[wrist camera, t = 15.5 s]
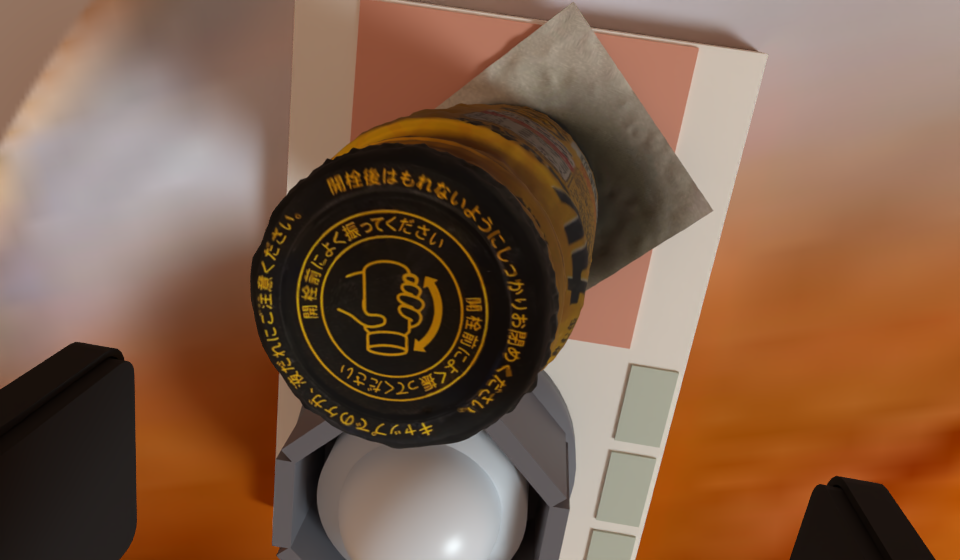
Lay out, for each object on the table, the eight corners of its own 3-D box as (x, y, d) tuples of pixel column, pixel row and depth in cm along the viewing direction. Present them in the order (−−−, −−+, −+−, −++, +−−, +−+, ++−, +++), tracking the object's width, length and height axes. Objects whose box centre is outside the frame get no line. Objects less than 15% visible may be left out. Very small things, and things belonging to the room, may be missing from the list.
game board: (622, 580, 30) (636, 702, 25) (280, 520, 31) (225, 628, 26) (759, 51, 23) (819, 69, 18) (305, -15, 23) (234, -16, 18)
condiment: (353, 171, 24) (119, 252, 13) (574, 2, 22) (527, -84, 10) (486, 353, 25) (376, 582, 14) (712, 209, 23) (810, 340, 11)
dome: (514, 555, 28) (505, 674, 23) (332, 523, 28) (285, 634, 23) (544, 394, 25) (541, 489, 21) (345, 361, 26) (295, 448, 21)
